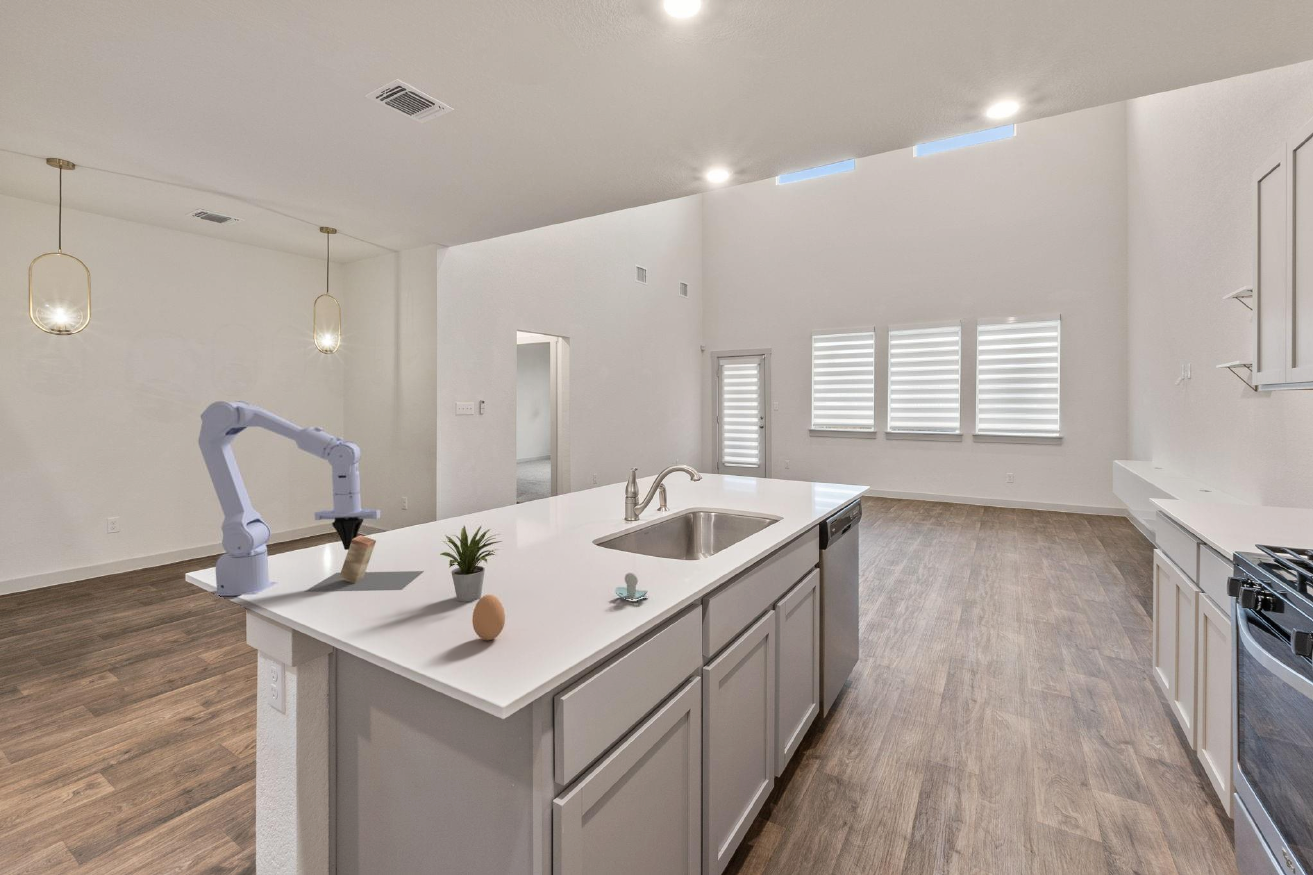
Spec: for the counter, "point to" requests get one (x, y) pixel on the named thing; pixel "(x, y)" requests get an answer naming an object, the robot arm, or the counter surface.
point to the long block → (357, 559)
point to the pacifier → (630, 588)
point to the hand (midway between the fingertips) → (349, 548)
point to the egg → (488, 617)
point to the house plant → (469, 565)
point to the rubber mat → (368, 582)
